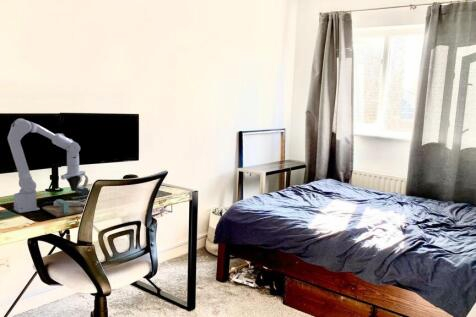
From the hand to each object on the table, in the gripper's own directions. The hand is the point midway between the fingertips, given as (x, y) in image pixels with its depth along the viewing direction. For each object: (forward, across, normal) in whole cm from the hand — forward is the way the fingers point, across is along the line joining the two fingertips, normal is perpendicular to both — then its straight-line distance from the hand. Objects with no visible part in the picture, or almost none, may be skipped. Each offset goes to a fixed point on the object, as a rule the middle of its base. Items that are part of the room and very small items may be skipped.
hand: (73, 190), depth 214 cm
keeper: (+6, +14, +7) cm, 17 cm away
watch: (+7, -18, -12) cm, 23 cm away
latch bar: (+6, +6, +4) cm, 9 cm away
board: (+7, +8, +6) cm, 12 cm away
